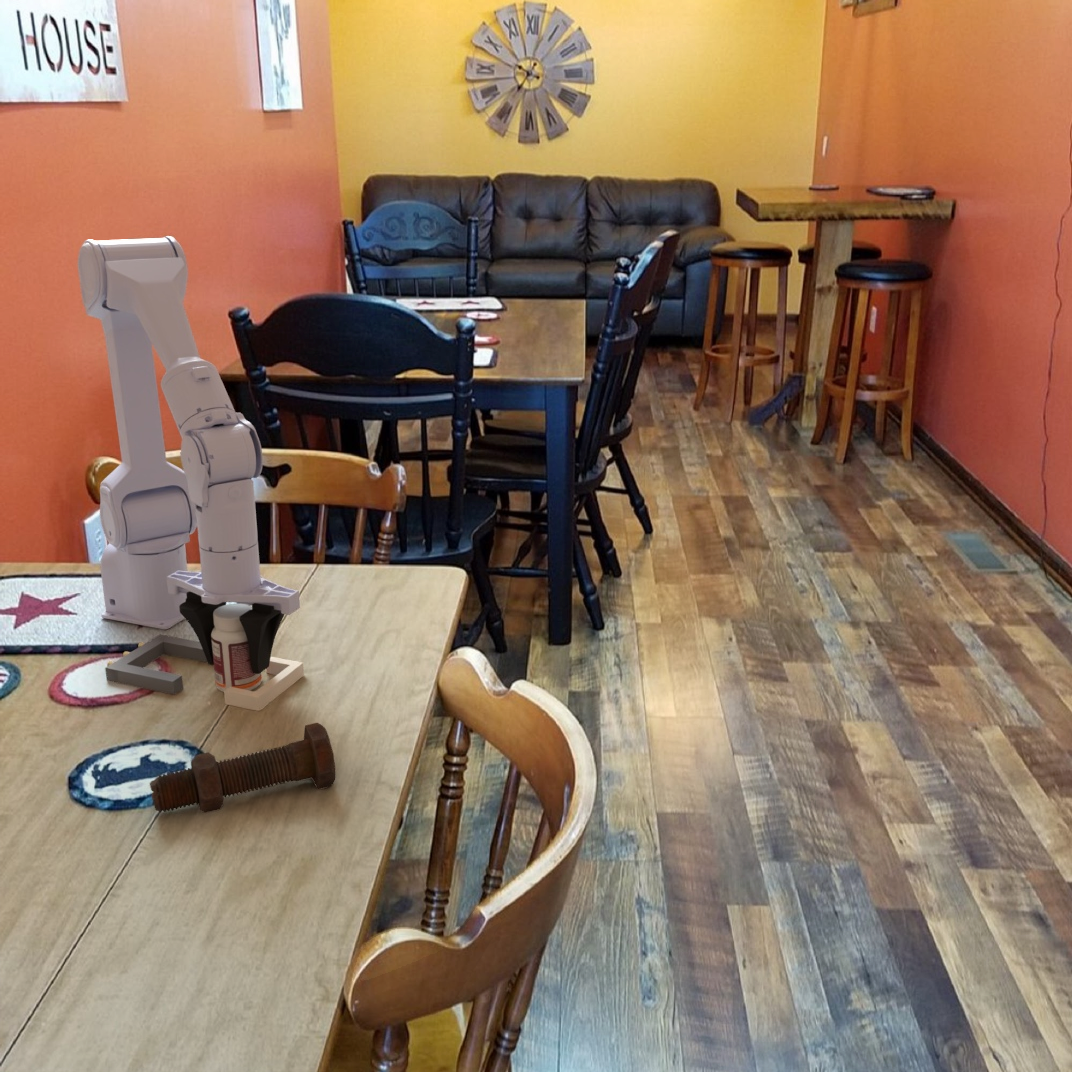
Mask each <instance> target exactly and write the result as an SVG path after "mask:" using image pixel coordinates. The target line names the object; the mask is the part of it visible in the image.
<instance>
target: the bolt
mask: <svg viewBox="0 0 1072 1072" xmlns="http://www.w3.org/2000/svg"><path fill="white" fill-rule="evenodd" d="M303 730H304V731H303V739H301V740H296V741H293V742H289V743H288V744H286V745H282V746H278V747H274V748H271V749H269V748H268V749H263V750H262V751H261V750H259V752H258V751H256V752H254V753H253V752H251V754H250V753H247V754H243V756H242V755H239V756H236V757H235V758H234V757H232V758H231V759H230V758H228V759H227V760H226V759H223V760H219V762H218V761H217V759H216V757H215V756H214V755H213V754H211V753H210V752H204V753H200V754H195V755H194V756H193V758H192V759H191V760H190V768H189V767H188V768H187V769H186V768H184V769H183V770H182V769H180V770H179V771H178V770H176V771H171V772H170V773H169V772H167V773H166V774H165V773H163V775H161V774H158V776H157V777H156V778H155V779H154V780H151V781H150V782H149V786H150V790H151V791H152V793H151V799H152V802H153V806H154V809H155V811H157V812H158V813H160V814H161V813H162V812H163V813H166V811H167V812H170V810H171V811H174V810H176V811H177V810H178V809H180V810H181V809H182V808H186V807H190V806H194V805H197V806H198V808H199V810H200V811H201V812H203V813H205V814H206V813H211V812H215V811H219V810H221V809H222V807H223V806H224V798H225V799H226V798H227V797H228V798H230V797H231V795H232V796H233V797H234V796H235V794H236V796H238V795H239V794H241V795H242V794H243V793H244V794H246V793H247V792H248V793H250V792H251V791H252V792H254V791H255V790H256V791H259V789H260V790H262V789H263V788H264V789H266V788H270V787H274V786H278V785H282V783H283V784H286V783H289V782H299V781H304V780H305V781H306V780H309V779H311V780H313V783H314V785H315V788H316V789H317V790H321V789H326V788H330V787H332V786H333V785H334V784H335V782H336V778H337V777H336V776H337V775H336V772H337V771H336V763H335V755H334V751H333V747H332V743H331V740H330V736H329V734H328V730H327V729H326V727H325V726H323V724H320V723H319V722H313V723H309V724H305V725H304V729H303Z"/></svg>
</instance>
